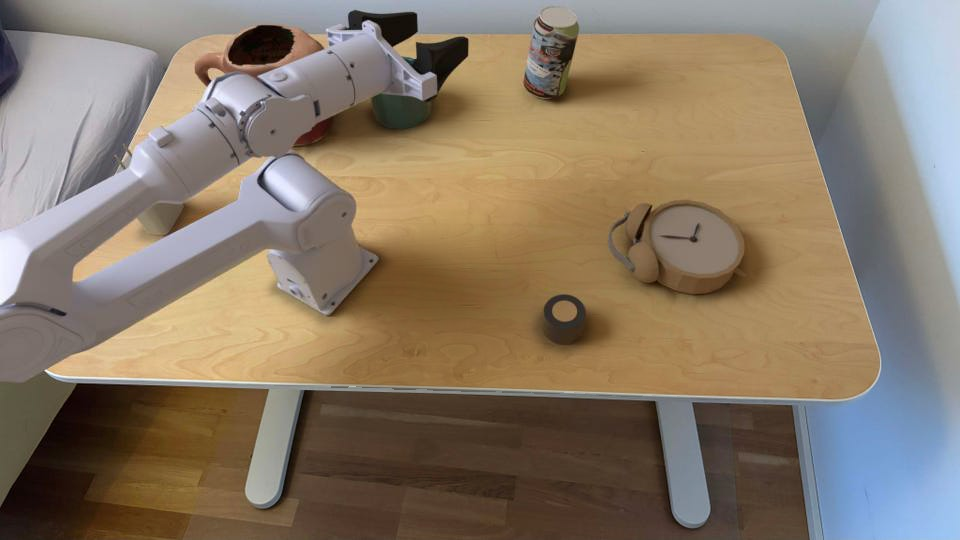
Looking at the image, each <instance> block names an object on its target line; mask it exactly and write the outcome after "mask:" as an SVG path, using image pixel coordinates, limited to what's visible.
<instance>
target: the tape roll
mask: <svg viewBox="0 0 960 540" xmlns="http://www.w3.org/2000/svg"><path fill="white" fill-rule="evenodd" d="M586 314H587V311H586V307H585V305H584V303H583V302H582V301H581V300H580V299H579V298H578V297H576V296H574V295H571V294H566V293H565V294H564V293H563V294H556V295H553V296H552V297H550V299H548V300H547V301H546V303H545V304H544V306H543V317H542V330H543V333H544V335H545V337H546V338H547V339H548V340H549V341H551V342H552V343H555V344H556V345H564V346H565V345H570V344H571V345H572V344H574V343H575V342H577V341H579V339H581V337H582V335H583V333H584V329H585V322H586V316H587V315H586Z"/></svg>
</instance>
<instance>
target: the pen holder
mask: <svg viewBox="0 0 960 540" xmlns="http://www.w3.org/2000/svg"><path fill="white" fill-rule="evenodd" d="M401 57H402V58H403V59H404V60H405V61H406V62H407V63H408V64H409V65H411V64H413V63H414V62H413V60H414V59H415V58H414V57H411V56H403V55H402V56H401ZM369 100H370V103H371V108H372V111H373V115H374V118H375V120H376V121H377V122H378V123H379V124H380V125H382V126H383V127H385V128H389V129H393V130H404V129H411V128H413V127H416V126H418V125H420V124H422V123H423V122H425V120H426V119H428V117H429V116H430V114H431V112H432V101H430V102H425V101H422V100H420V99H418V98H415V97H411V96H402V95H391V94H381V93H380V94H378V95H376V96H374V97H372V98H369Z"/></svg>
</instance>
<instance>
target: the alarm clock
mask: <svg viewBox="0 0 960 540" xmlns="http://www.w3.org/2000/svg"><path fill="white" fill-rule="evenodd" d="M652 209H653V204H651V203H645V202H641V203H638V204H637V205H636V206H634V207H633V208H632V210H630V211H629V212H628V211H625V212H624V214H623V215H624V217H622V218H620V219H618V220H616V221H615V222H614V223H613V224H612V226H611V227H610V230H609V233H608V235H607V245H608V248H609V251H610V253H611V254H612V256H613V257H614V258H616V260H617V261H619V262H620V263H622V264H623V265H624V266H625V267H627V271H629V272H630V273H631V275H632V276H633V277H634V278H635V279H636V280H638V281H639V282H641V283H644V284H649V283H650V284H651V283H654V282H658V283H659V284H661V285H663V286H665V287H666V288H670V290H674V291H676V292H679V293H685V294H690V295H698V294H699V295H700V294H709V293H711V292H714V291H716V290H719V289H721V288H722V287H724V286H725V285H726V284H727V283H728V282H730V280H731V279H732V277H733V275H734V274H736V275H738V276H740V277H742V278H745V276H746V275H747V274H746V273H745V272H744V271H743V270H742V269H740V268H738V267H739V265H740V263H741V262H742V259H743V257H744V255H745V240H744V237H743V235H742V232H741V230H740V228H739V226H738V225H737V224H736V222H734V220H733V219H732V218H731V217H730V216H728V215H727V214H726V213H725V212H723V211H721V210H720V209H719V208H717V207H714V206H712V205H710V204H708V203H705V202H701V201H697V200H690V199H681V200H680V199H679V200H671V201H668V202H665V203H662V204H659V205H658V206H657V207H656V208H654V209H653V210H652ZM623 224H625V226H624V231H625V235H626V237H627V238H628V239H630V240H631V241H632V243H633V245H632V246H631V247H629V250H628V252H627V257H626V256H625V255H623V254H622V253H621V252H620V251H619V250H618V249H617V248H616V245H615V244H614V242H613V232H614V231H615V229H617V228H618V227H619V226H622V225H623Z"/></svg>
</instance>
